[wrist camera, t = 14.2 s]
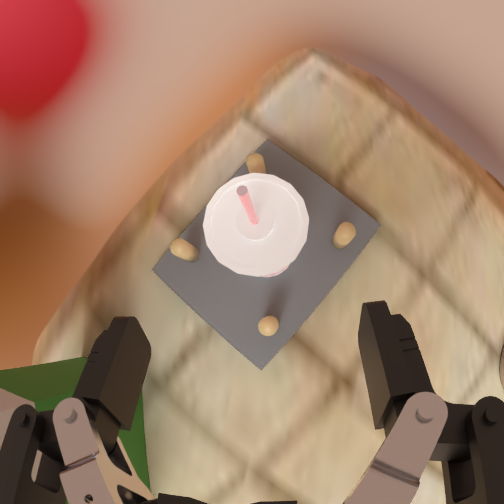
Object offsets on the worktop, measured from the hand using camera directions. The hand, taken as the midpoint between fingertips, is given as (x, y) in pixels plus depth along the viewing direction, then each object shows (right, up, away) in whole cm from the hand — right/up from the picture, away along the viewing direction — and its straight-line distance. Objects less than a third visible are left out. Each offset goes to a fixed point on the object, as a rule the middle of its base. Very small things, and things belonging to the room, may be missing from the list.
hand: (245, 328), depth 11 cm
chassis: (+1, +3, +18) cm, 18 cm away
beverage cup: (+1, +3, +16) cm, 17 cm away
